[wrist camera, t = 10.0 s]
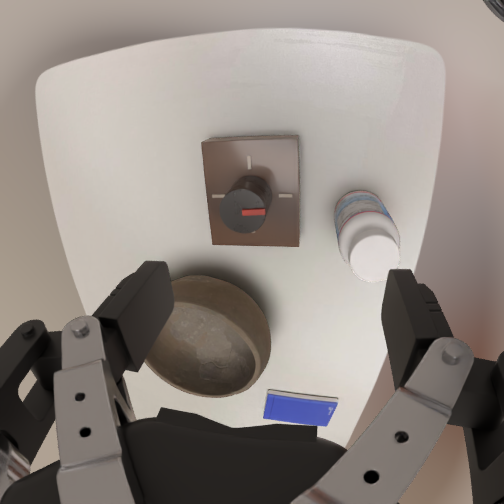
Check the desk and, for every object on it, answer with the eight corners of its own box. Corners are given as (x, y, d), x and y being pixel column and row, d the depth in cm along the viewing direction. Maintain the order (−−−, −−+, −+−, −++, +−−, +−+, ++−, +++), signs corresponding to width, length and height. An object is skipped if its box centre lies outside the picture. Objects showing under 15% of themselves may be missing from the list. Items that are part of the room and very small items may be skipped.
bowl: (138, 277, 46) (104, 318, 37) (243, 239, 40) (224, 284, 31) (194, 359, 52) (175, 405, 44) (293, 339, 46) (287, 392, 38)
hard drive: (337, 404, 50) (267, 395, 51) (326, 427, 54) (262, 419, 55) (337, 397, 51) (268, 388, 53) (326, 421, 55) (263, 413, 57)
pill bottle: (382, 237, 37) (403, 289, 27) (333, 237, 38) (339, 290, 28) (385, 189, 34) (413, 228, 24) (333, 188, 35) (342, 227, 25)
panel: (209, 138, 35) (200, 142, 32) (298, 135, 33) (297, 138, 30) (218, 234, 40) (212, 245, 38) (299, 235, 39) (298, 247, 36)
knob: (234, 215, 36) (222, 235, 31) (228, 177, 34) (215, 191, 29) (273, 213, 35) (267, 234, 30) (270, 174, 33) (263, 188, 28)
